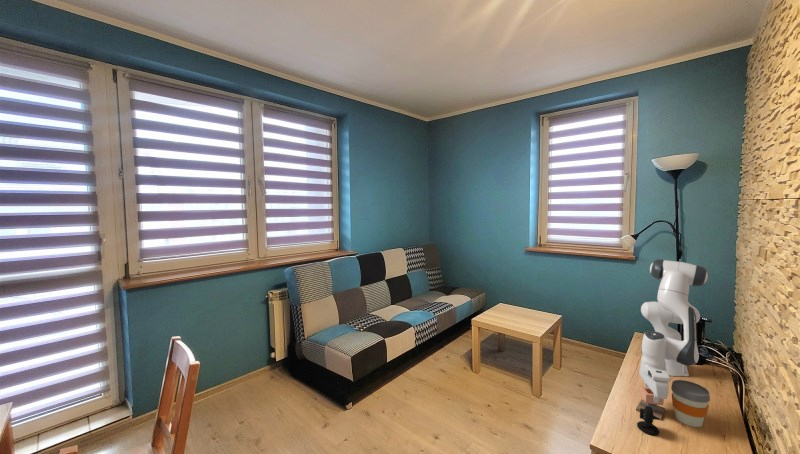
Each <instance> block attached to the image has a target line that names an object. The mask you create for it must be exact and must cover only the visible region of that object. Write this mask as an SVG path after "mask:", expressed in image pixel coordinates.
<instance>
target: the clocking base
mask: <svg viewBox="0 0 800 454" xmlns="http://www.w3.org/2000/svg"><path fill="white" fill-rule="evenodd" d="M646 406H650V407H651V408H652V410H653V415H654V416H655V417H657V418H659V419H660V420H659V421H662V418H663V416H664V414H665V412H666V408H665V407H663V406H662V405H657V404H650V403H646V402H645V401H644V400H643V398H642V399H641V400H640V401H639V403H638V405H637V406H636V409H635V411H636V412H639V413H640V408H642V409H644V408H645V407H646Z"/></svg>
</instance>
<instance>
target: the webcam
mask: <svg viewBox="0 0 800 454" xmlns="http://www.w3.org/2000/svg"><path fill="white" fill-rule="evenodd" d="M639 419H641V421H638V422H637V423H636V426H637V428H638V429H639V430H640V431H641V432H642V433H644V434H647V435H649V436H658V435H659V434H660V430H659V428H658V427H657V426H656V425H654V423H653V422H654V420H656V421H661V420H660V419H659V418H657V417H655V416H654V415H653V410H652V408H651V407H650V406H646V407H645V408H644V409H642V408H640V412H639ZM646 428H647V429H646ZM648 429H650V430H648Z"/></svg>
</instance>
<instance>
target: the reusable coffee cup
mask: <svg viewBox="0 0 800 454" xmlns="http://www.w3.org/2000/svg"><path fill="white" fill-rule="evenodd" d="M670 390H671V391H672V393H671V400H672V407H673V409H674V416H675V418H676V420H678V421H679V422H680V423H682V424H685V425H686V426H689V427H694V428H701V427H702V426H703V424H704V420H705V417H707V416H708V410H709V407H710V406H709V402H710V400H711V398H710V397H711V396H710V395H711V394H710V392H709V390H708V389H707V388H705V387H704V386H703V385H701V384H698V383H696V382H693V381H688V380H684V379H676V380H673V381H672V383H671V387H670Z"/></svg>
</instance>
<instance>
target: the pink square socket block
mask: <svg viewBox="0 0 800 454" xmlns="http://www.w3.org/2000/svg"><path fill="white" fill-rule="evenodd" d="M639 389H640V390H639V395H640V397H641V398H642V400H644V401H645V402H646V403H650V404H657V405H658V406H664V402H665V401H664V400H665V399H659V403H655V402H654V401H653V397H654V393H653V392H652V391H651V389H650V388H648V387H645V386H639Z"/></svg>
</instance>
